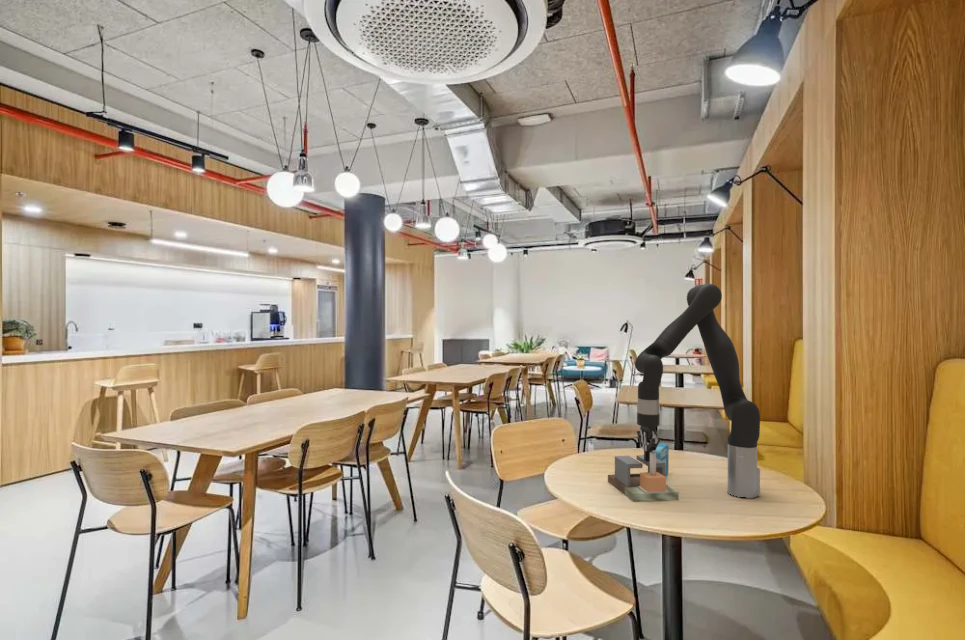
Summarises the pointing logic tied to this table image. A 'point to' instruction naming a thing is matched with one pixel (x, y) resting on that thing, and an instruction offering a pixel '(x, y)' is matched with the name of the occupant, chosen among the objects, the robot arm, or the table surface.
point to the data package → (663, 455)
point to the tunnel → (628, 462)
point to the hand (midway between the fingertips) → (647, 461)
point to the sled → (652, 479)
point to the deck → (639, 495)
